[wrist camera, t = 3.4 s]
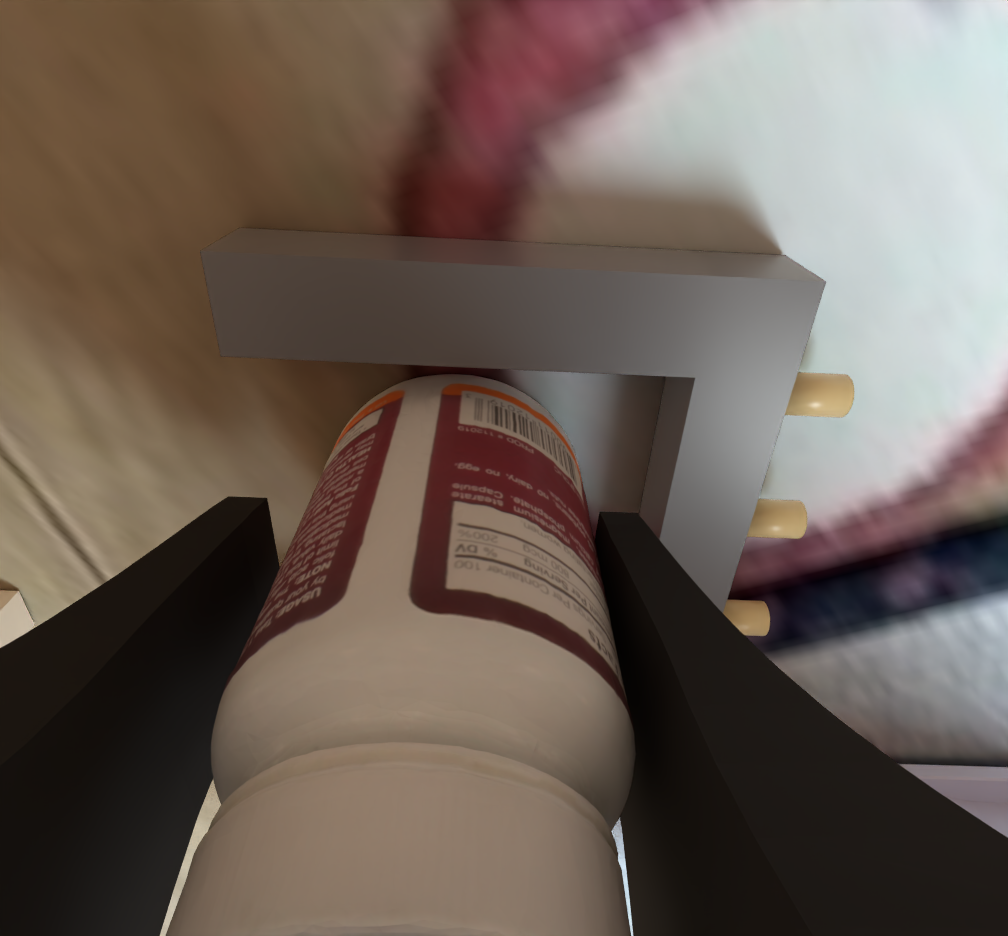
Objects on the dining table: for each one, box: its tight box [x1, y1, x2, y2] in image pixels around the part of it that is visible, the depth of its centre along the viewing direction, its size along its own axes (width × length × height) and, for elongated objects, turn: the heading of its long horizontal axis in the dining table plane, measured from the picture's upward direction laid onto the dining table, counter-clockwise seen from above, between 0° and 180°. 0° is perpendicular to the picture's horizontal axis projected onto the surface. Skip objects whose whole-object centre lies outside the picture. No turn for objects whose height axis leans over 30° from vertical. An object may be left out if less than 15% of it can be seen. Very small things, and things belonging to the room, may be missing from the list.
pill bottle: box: [166, 374, 636, 936], centre depth 9 cm, size 5×5×8 cm
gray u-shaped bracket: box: [200, 228, 854, 636], centre depth 12 cm, size 10×9×2 cm
